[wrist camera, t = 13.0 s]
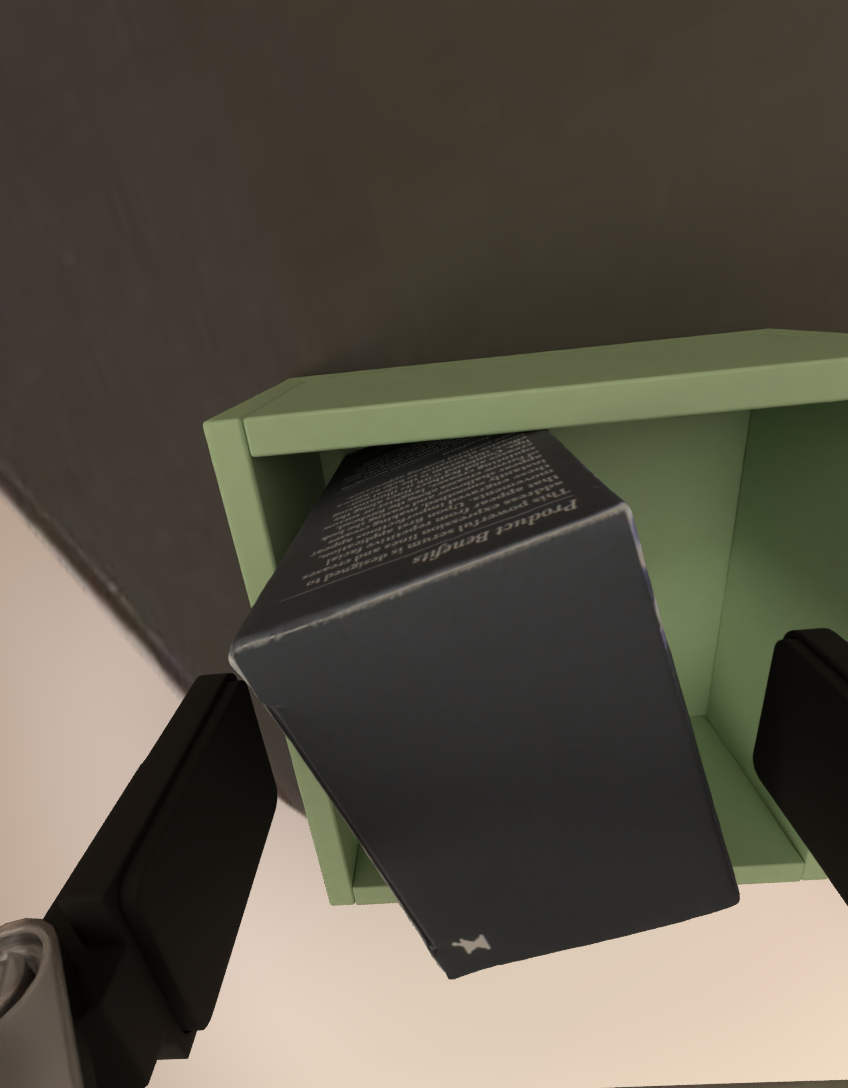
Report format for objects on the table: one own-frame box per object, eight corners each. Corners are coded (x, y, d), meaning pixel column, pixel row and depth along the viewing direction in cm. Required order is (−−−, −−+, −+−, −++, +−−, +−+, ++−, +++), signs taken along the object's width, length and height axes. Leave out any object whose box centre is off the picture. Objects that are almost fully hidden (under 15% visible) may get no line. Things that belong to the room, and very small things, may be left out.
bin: (358, 736, 22) (329, 906, 16) (288, 377, 17) (199, 422, 10) (711, 712, 22) (829, 880, 15) (770, 328, 16) (1000, 341, 9)
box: (583, 598, 18) (753, 916, 9) (432, 649, 19) (435, 988, 10) (510, 381, 16) (643, 500, 6) (336, 454, 17) (206, 659, 7)
